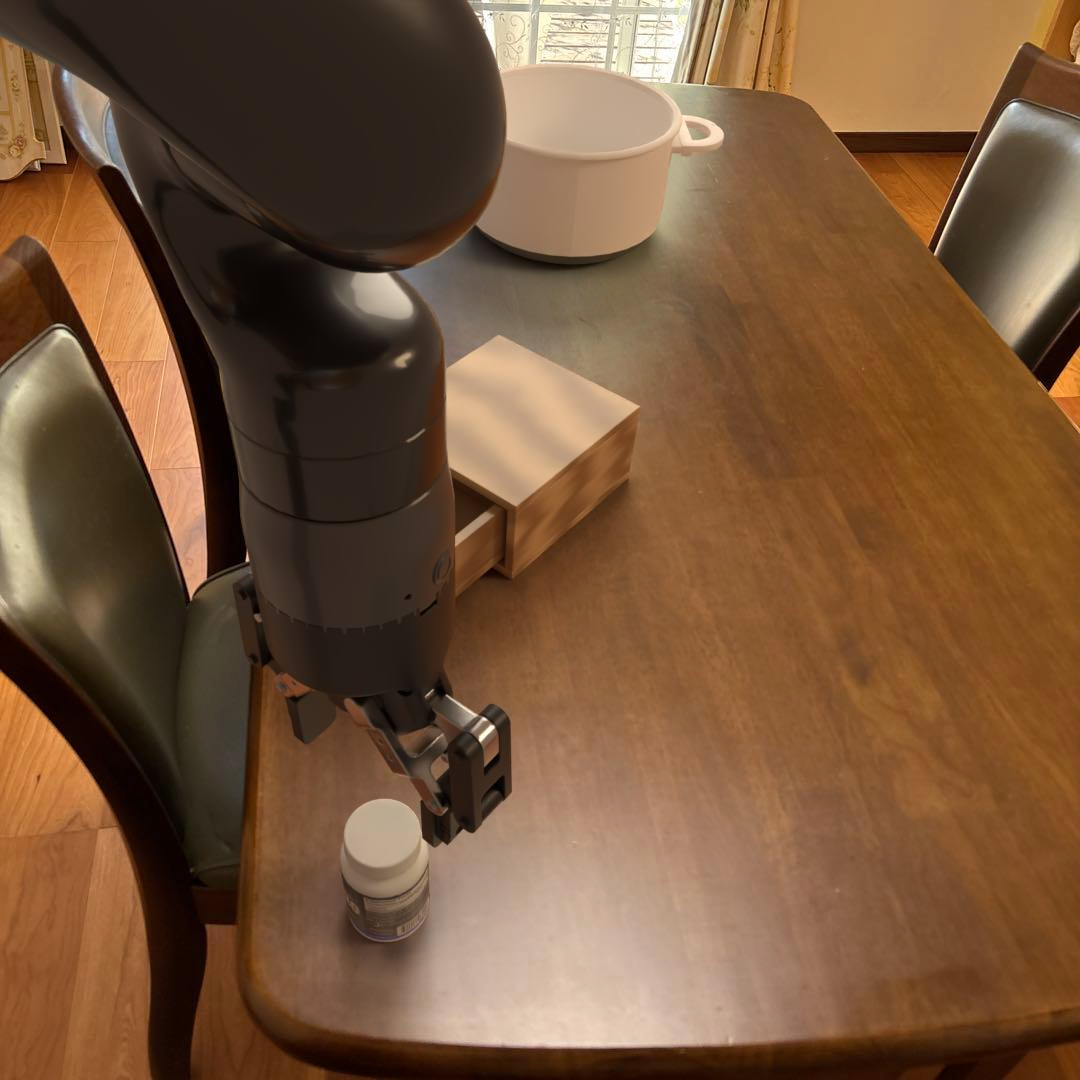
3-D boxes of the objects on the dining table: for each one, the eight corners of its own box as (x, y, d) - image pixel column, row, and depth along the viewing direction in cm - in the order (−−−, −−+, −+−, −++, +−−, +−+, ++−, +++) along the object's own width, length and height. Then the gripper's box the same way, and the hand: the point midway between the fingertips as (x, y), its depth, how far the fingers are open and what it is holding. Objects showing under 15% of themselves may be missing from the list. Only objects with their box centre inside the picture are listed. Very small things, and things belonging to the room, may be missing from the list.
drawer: (357, 696, 68) (351, 640, 64) (223, 596, 73) (210, 538, 69) (538, 540, 79) (543, 484, 75) (411, 463, 84) (409, 407, 80)
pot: (688, 182, 125) (708, 68, 116) (723, 284, 109) (750, 160, 99) (416, 174, 123) (413, 55, 113) (411, 277, 106) (407, 149, 97)
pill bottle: (345, 871, 60) (333, 796, 54) (425, 860, 61) (422, 785, 55) (349, 951, 57) (337, 880, 51) (434, 938, 57) (432, 867, 52)
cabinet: (511, 580, 77) (516, 507, 72) (372, 492, 83) (367, 418, 78) (629, 478, 86) (640, 406, 81) (496, 405, 92) (498, 333, 87)
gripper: (147, 509, 38) (219, 747, 50) (426, 713, 33) (435, 929, 44) (297, 416, 43) (331, 655, 54) (567, 582, 37) (542, 810, 49)
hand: (378, 778), depth 49 cm, fingers open, 8 cm apart
